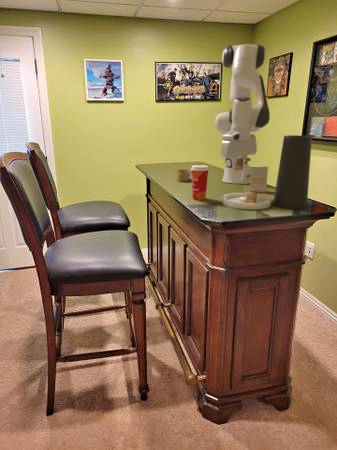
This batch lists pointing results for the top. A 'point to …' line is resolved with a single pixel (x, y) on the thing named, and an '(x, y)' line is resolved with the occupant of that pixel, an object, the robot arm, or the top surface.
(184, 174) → the mug
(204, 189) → the coffee cup
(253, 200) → the tan egg
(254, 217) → the top surface
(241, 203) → the tray
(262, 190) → the supplement box
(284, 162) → the vase
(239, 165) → the brown egg
